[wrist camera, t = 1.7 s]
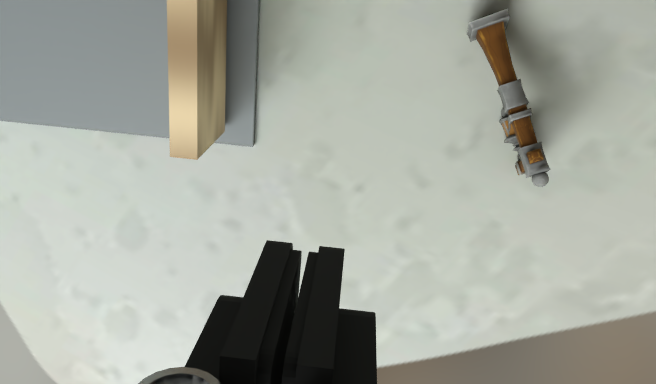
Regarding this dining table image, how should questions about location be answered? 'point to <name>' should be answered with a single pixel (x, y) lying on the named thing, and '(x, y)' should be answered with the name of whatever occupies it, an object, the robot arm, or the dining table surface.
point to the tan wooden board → (196, 74)
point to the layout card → (112, 66)
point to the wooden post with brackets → (511, 96)
